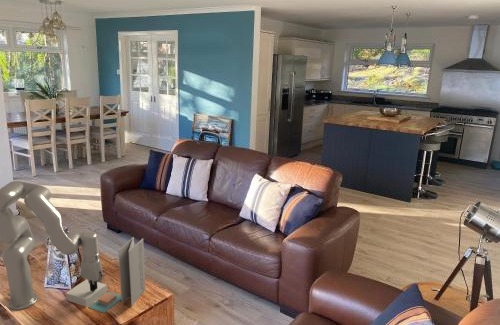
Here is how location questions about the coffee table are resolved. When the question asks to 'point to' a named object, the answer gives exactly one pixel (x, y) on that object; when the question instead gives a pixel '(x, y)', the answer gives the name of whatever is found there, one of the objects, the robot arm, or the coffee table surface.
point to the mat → (103, 307)
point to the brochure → (132, 270)
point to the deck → (85, 293)
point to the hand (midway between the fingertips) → (93, 289)
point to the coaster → (107, 299)
